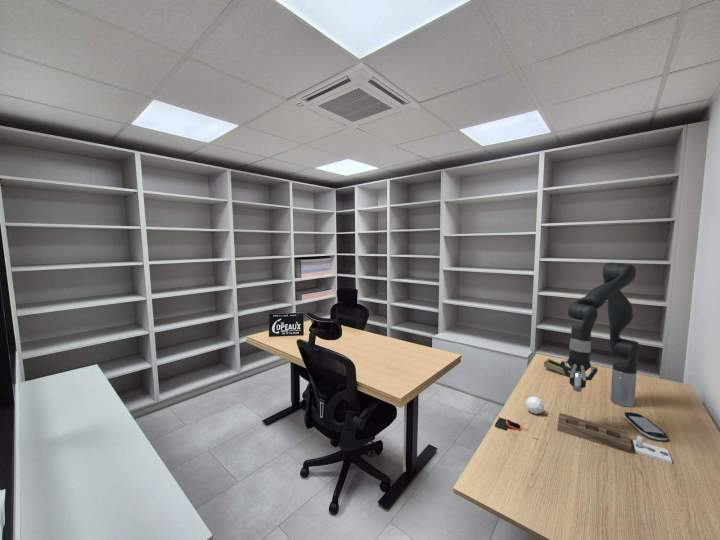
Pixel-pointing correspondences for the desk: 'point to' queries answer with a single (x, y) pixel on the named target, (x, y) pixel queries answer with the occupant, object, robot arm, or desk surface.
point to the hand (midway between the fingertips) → (577, 386)
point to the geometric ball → (534, 405)
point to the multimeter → (508, 425)
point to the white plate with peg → (651, 450)
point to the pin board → (594, 432)
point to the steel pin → (577, 381)
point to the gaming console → (645, 426)
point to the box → (556, 366)
